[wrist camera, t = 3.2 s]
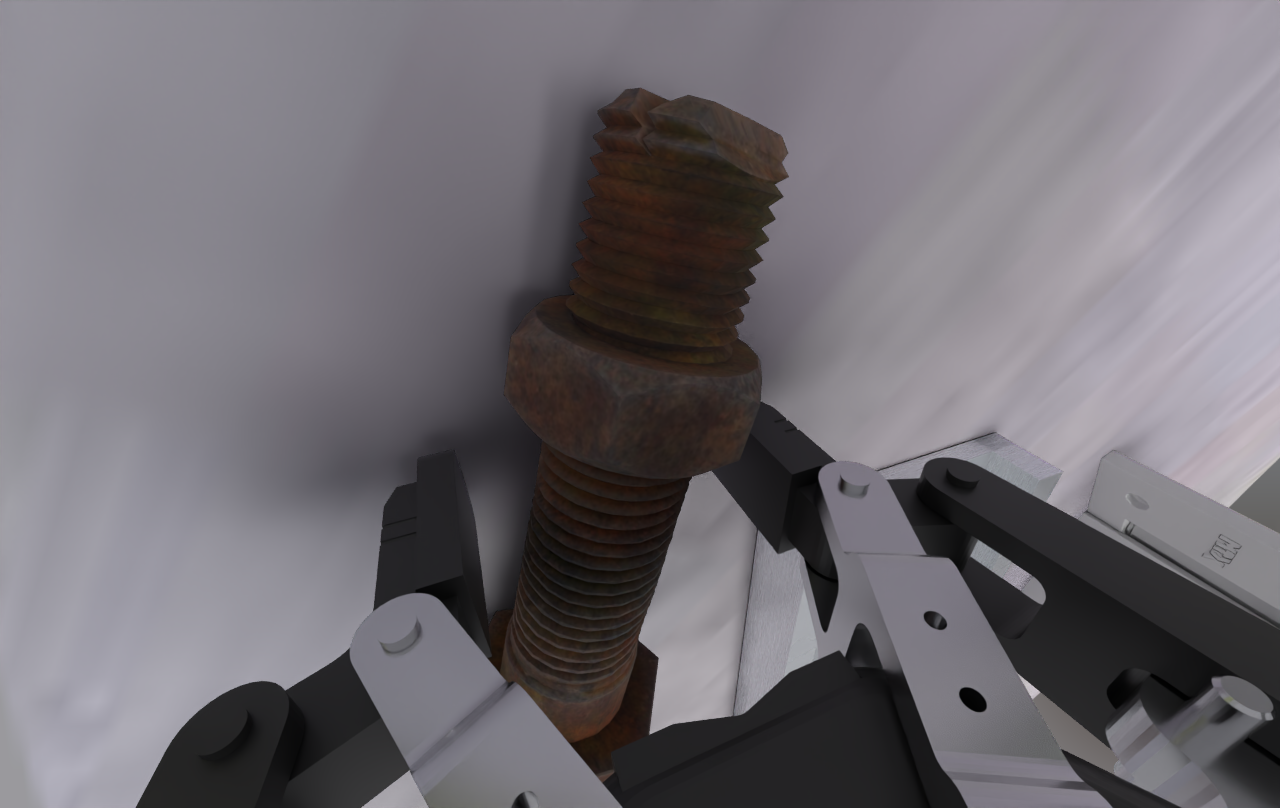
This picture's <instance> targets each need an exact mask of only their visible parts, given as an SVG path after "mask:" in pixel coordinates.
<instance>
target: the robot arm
mask: <svg viewBox="0 0 1280 808" xmlns="http://www.w3.org/2000/svg"><path fill="white" fill-rule="evenodd" d="M712 472H713V473H714V474H715V475H716V477H717V478H718V479H719V480H720V482H721V483H722V484H723V486H724V487H725V488H726V489H727V491H728V492H729V493H730V494H731V496H732V497H733V498H734V499H735V501H736V502H737V503H738V504H739V506H740V507H741V508H742V510H743V511H744V512H745V513H746V515H747V516H748V517H749V518H750V520H751V521H752V522H753V523H754V525H755V526H756V527H757V529H758V530H759V531H760V532H761V534H762V535H763V536H764V537H765V539H766V540H767V541H768V542H769V544H770V545H771V546H772V547H773V549H774V550H775V551H776V553H777V554H781V553H784V552H786V551H789V550H792V549H795V548H796V549H797V550H798V552H799V553H800V554H801V559H800V565H799V567H800V573H801V577H802V581H803V585H804V589H805V594H806V598H807V602H808V606H809V610H810V615H811V619H812V623H813V627H814V632H815V636H816V640H817V647H818V660H816V661H814V662H811V663H809V664H807V665H805V666H802V667H800V668H798V669H796V670H793V671H791V672H789V673H788V674H787V675H786V676H785V677H784V678H783V679H782V680H781V681H779V682H778V683H777V684H776V685H775V686H774V687H773V688H772V689H771V690H770V691H769V692H768V693H766V694H765V695H764V696H763V697H762V698H761V699H760V700H759V701H758V702H757V703H756V704H754V705H753V706H752V707H751V708H750V709H749V710H748V711H746V712H745V713H743V714H741V715H737V716H731V717H724V718H716V719H708V720H701V721H693V722H686V723H678V724H673V725H670V726H668V727H666V728H664V729H662V730H659V731H657V732H655V733H653V734H650V735H648V736H646V737H644V738H641V739H639V740H637V741H635V742H632V743H630V744H628V745H626V746H623V747H621V748H619V749H617V750H615V751H612V752H611V757H612V764H613V771H614V773H613V774H612V775H611V776H609V777H608V778H607V779H606V780H605V781H604V782H603V783H602V782H601V781H600V780H599V779H598V778H597V776H596V775H595V774H594V773H593V772H592V770H591V769H590V768H589V767H588V766H587V764H586V763H585V762H584V761H583V760H582V758H581V757H580V756H579V755H578V754H577V752H576V751H575V750H574V749H573V748H572V746H571V745H570V744H569V743H568V742H567V740H566V739H565V738H564V737H563V736H562V734H561V733H560V732H559V731H558V730H557V728H556V727H555V726H554V725H553V724H552V722H551V721H550V720H549V719H548V718H547V716H546V715H545V714H544V713H543V712H542V710H541V709H540V708H539V707H538V706H537V704H536V703H535V702H534V701H533V700H532V698H531V697H530V696H529V695H528V694H527V693H526V691H525V690H524V689H523V688H522V687H521V686H520V685H519V684H517V683H516V682H514V681H511V682H510V683H509V682H507V681H506V680H505V679H504V678H503V677H502V676H501V675H500V673H499V672H498V671H497V670H496V668H495V667H494V666H493V665H492V664H491V662H490V661H489V660H488V659H487V658H489V657H492V652H491V644H490V635H489V627H488V619H487V611H486V603H485V595H484V587H483V579H482V571H481V563H480V555H479V547H478V539H477V530H476V524H475V518H474V514H473V509H472V505H471V502H470V498H469V495H468V492H467V488H466V485H465V482H464V479H463V475H462V472H461V469H460V466H459V462H458V459H457V456H456V453H455V451H454V450H449V451H445V452H441V453H436V454H432V455H428V456H424V457H419V458H418V463H417V482H415V483H411V484H407V485H403V486H399V487H396V489H395V490H394V492H393V493H392V495H391V496H390V498H389V499H388V501H387V503H386V504H385V506H384V511H383V521H382V527H383V529H382V531H381V541H380V542H381V546H380V551H379V561H378V571H377V581H376V591H375V601H374V609H373V612H372V613H371V614H370V615H369V616H368V617H367V618H366V619H365V620H364V621H363V622H362V624H361V625H360V627H359V628H358V629H357V631H356V633H355V635H354V637H353V639H352V643H351V646H350V648H349V649H348V650H347V651H346V652H345V653H344V654H342V655H341V656H340V657H339V658H337V659H336V660H335V661H333V662H332V663H330V664H329V665H327V666H325V667H324V668H322V669H320V670H319V671H317V672H315V673H314V674H312V675H310V676H309V677H307V678H306V679H304V680H302V681H301V682H299V683H297V684H296V685H294V686H292V687H291V688H289V689H287V690H286V691H285V690H284V689H283V688H282V687H281V686H279V685H278V684H276V683H272V682H267V681H259V682H252V683H248V684H245V685H241V686H239V687H237V688H234V689H232V690H230V691H228V692H226V693H224V694H222V695H220V696H219V697H217V698H216V699H214V700H213V701H211V702H210V703H208V704H207V705H206V706H205V707H203V708H202V709H201V710H199V711H198V712H197V713H196V714H195V715H194V716H193V717H192V718H191V719H190V720H189V721H188V722H187V723H186V724H185V725H184V726H183V727H182V728H181V730H180V731H179V732H178V733H177V735H176V736H175V737H174V739H173V740H172V742H171V743H170V745H169V747H168V748H167V750H166V752H165V754H164V755H163V757H162V759H161V761H160V763H159V765H158V767H157V769H156V770H155V772H154V774H153V776H152V778H151V780H150V782H149V784H148V785H147V787H146V789H145V791H144V793H143V795H142V797H141V799H140V800H139V802H138V804H137V806H136V808H361V807H362V806H364V805H365V804H366V803H368V802H369V801H370V800H371V799H373V798H374V797H375V796H377V795H378V794H379V793H381V792H382V791H383V790H384V789H386V788H387V787H388V786H390V785H391V784H392V783H393V782H395V781H396V780H397V779H399V778H400V777H401V776H402V775H404V774H405V773H406V772H408V771H409V770H411V771H410V772H411V775H412V777H413V779H414V781H415V783H416V785H417V787H418V789H419V790H420V792H421V794H422V796H423V798H424V800H425V801H426V803H427V805H428V807H429V808H1280V630H1279V629H1278V628H1276V627H1274V626H1272V625H1270V624H1268V623H1267V622H1265V621H1263V620H1261V619H1259V618H1257V617H1256V616H1254V615H1252V614H1250V613H1248V612H1246V611H1245V610H1243V609H1241V608H1239V607H1237V606H1235V605H1234V604H1232V603H1230V602H1228V601H1226V600H1224V599H1223V598H1221V597H1219V596H1217V595H1215V594H1213V593H1212V592H1210V591H1208V590H1206V589H1204V588H1202V587H1201V586H1199V585H1197V584H1195V583H1193V582H1191V581H1189V580H1188V579H1186V578H1184V577H1182V576H1180V575H1178V574H1177V573H1175V572H1173V571H1171V570H1169V569H1167V568H1166V567H1164V566H1162V565H1160V564H1158V563H1156V562H1155V561H1153V560H1151V559H1149V558H1147V557H1145V556H1144V555H1142V554H1140V553H1138V552H1136V551H1134V550H1133V549H1131V548H1129V547H1127V546H1125V545H1123V544H1122V543H1120V542H1118V541H1116V540H1114V539H1112V538H1110V537H1109V536H1107V535H1105V534H1103V533H1101V532H1099V531H1098V530H1096V529H1094V528H1092V527H1090V526H1088V525H1087V524H1085V523H1083V522H1081V521H1079V520H1077V519H1076V518H1074V517H1072V516H1070V515H1068V514H1066V513H1065V512H1063V511H1061V510H1059V509H1057V508H1055V507H1054V506H1052V505H1050V504H1048V503H1046V502H1044V501H1043V500H1041V499H1039V498H1037V497H1035V496H1033V495H1032V494H1030V493H1028V492H1026V491H1024V490H1022V489H1020V488H1019V487H1017V486H1015V485H1013V484H1011V483H1009V482H1008V481H1006V480H1004V479H1002V478H1000V477H998V476H997V475H995V474H993V473H991V472H989V471H987V470H986V469H984V468H982V467H980V466H978V465H976V464H973V463H971V462H968V461H965V460H961V459H957V458H949V457H941V458H935V459H932V460H929V461H928V462H926V464H925V465H924V467H923V470H922V473H921V476H920V478H912V479H885V478H884V476H883V475H881V474H880V473H879V472H877V471H876V470H874V469H872V468H870V467H868V466H866V465H863V464H860V463H856V462H849V461H838V462H836V461H835V460H834V459H833V458H832V457H830V456H829V455H828V454H827V453H826V452H825V451H823V450H822V449H821V448H820V447H819V446H818V445H816V444H815V443H814V442H813V441H812V440H811V439H809V438H808V437H807V436H806V435H805V434H804V433H802V432H801V431H800V430H797V427H795V426H794V425H793V424H792V423H791V422H790V421H786V418H785V417H784V416H783V415H781V414H780V413H779V412H778V411H777V410H776V409H775V408H773V407H772V406H769V405H767V404H765V403H763V402H760V407H759V409H758V412H757V415H756V417H755V420H754V423H753V426H752V428H751V431H750V434H749V436H748V439H747V442H746V444H745V447H744V450H743V452H742V455H741V458H740V460H739V461H736V462H733V463H731V464H728V465H725V466H722V467H720V468H717V469H714V470H712ZM978 540H979V541H981V542H982V543H984V544H985V545H987V546H988V547H990V548H991V549H993V550H994V551H996V552H997V553H999V554H1001V555H1002V556H1004V557H1005V558H1007V559H1008V560H1010V561H1011V562H1013V563H1014V564H1016V565H1017V566H1019V567H1020V568H1022V569H1023V570H1025V571H1026V572H1028V573H1029V574H1031V575H1032V576H1033V577H1035V578H1036V579H1037V580H1038V581H1039V583H1040V584H1041V585H1042V587H1043V589H1044V591H1045V595H1046V599H1045V602H1044V603H1043V605H1042V604H1040V603H1038V602H1036V601H1034V600H1033V599H1031V598H1030V597H1028V596H1027V595H1025V594H1024V593H1023V592H1021V591H1020V590H1018V589H1017V588H1015V587H1014V586H1012V585H1011V584H1010V583H1008V582H1007V581H1005V580H1004V579H1002V578H1001V577H999V576H998V575H997V574H995V573H994V572H992V571H991V570H989V569H988V568H986V567H985V566H984V565H982V564H981V563H979V562H978V561H976V560H975V559H974V558H972V557H971V554H972V552H973V550H974V548H975V546H976V544H977V542H978ZM1017 673H1018V674H1019V675H1020V676H1022V677H1023V678H1024V679H1025V680H1026V681H1028V682H1029V683H1030V684H1031V685H1033V686H1034V687H1035V688H1036V689H1038V690H1039V691H1040V692H1041V693H1043V694H1044V695H1045V696H1046V697H1047V698H1049V699H1050V700H1051V701H1053V703H1055V704H1056V705H1057V706H1058V707H1060V708H1061V709H1062V710H1063V711H1064V712H1066V713H1067V714H1068V715H1070V716H1071V717H1072V718H1073V719H1074V720H1076V721H1077V722H1078V723H1079V724H1080V725H1082V726H1083V727H1084V728H1085V729H1087V730H1088V731H1089V732H1090V733H1092V734H1093V735H1094V736H1095V737H1097V738H1098V739H1099V740H1100V741H1101V742H1103V743H1104V744H1105V745H1106V746H1107V747H1109V748H1110V749H1111V750H1112V751H1113V752H1114V754H1115V755H1116V757H1117V758H1118V760H1119V761H1118V762H1117V763H1116V764H1115V766H1114V773H1115V775H1114V774H1112V773H1109V772H1108V771H1105V770H1103V769H1101V768H1099V767H1097V766H1095V765H1093V764H1091V763H1089V762H1087V761H1085V760H1083V759H1081V758H1079V757H1077V756H1075V755H1072V754H1070V753H1068V752H1067V751H1064V750H1062V749H1060V747H1059V746H1058V744H1057V742H1056V740H1055V738H1054V737H1053V735H1052V733H1051V731H1050V730H1049V728H1048V726H1047V724H1046V723H1045V721H1044V719H1043V717H1042V716H1041V714H1040V712H1039V710H1038V709H1037V707H1036V705H1035V703H1034V702H1033V700H1032V698H1031V696H1030V695H1029V693H1028V691H1027V689H1026V688H1025V686H1024V684H1023V682H1022V681H1021V679H1020V677H1019V675H1018V674H1017Z"/></svg>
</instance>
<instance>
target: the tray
mask: <svg viewBox="0 0 1280 808" xmlns="http://www.w3.org/2000/svg"><path fill="white" fill-rule="evenodd" d="M941 457H949V458H957V459H961V460H965V461H968V462H971V463H973V464H976V465H978V466H980V467H982V468H984V469H986V470H987V471H989V472H991V473H993V474H995V475H997V476H998V477H1000V478H1002V479H1004V480H1006V481H1008V482H1009V483H1011V484H1013V485H1015V486H1017V487H1019V488H1020V489H1022V490H1024V491H1026V492H1028V493H1030V494H1032V495H1033V496H1035V497H1037V498H1039V499H1041V500H1043V501H1044V502H1046V501H1047V499H1048V498H1049V496H1050V494H1051V492H1052V491H1053V489H1054V487H1055V485H1056V484H1057V482H1058V480H1059V478H1060V477H1061V475H1062V473H1063V471H1062V470H1060V469H1058V468H1056V467H1055V466H1053V465H1051V464H1049V463H1048V462H1046V461H1044V460H1042V459H1041V458H1039V457H1037V456H1036V455H1034V454H1032V453H1030V452H1029V451H1027V450H1025V449H1023V448H1022V447H1020V446H1018V445H1016V444H1015V443H1013V442H1011V441H1009V440H1008V439H1006V438H1004V437H1003V436H1001V435H999V434H997V433H993V434H990V435H987V436H984V437H981V438H978V439H975V440H972V441H969V442H966V443H962V444H959V445H956V446H953V447H950V448H947V449H944V450H941V451H938V452H935V453H932V454H929V455H926V456H923V457H920V458H917V459H914V460H910V461H907V462H904V463H901V464H898V465H895V466H892V467H889V468H886V469H883V470H880V471H877V472H879V473H880V474H881V475H883V476H884V478H885V479H912V478H920V476H921V473H922V470H923V467H924V465H925V464H926V462H928V461H929V460H932V459H935V458H941ZM971 557H972V558H974V559H975V560H976V561H978V562H979V563H981V564H982V565H984V566H985V567H986V568H988V569H989V570H991V571H992V572H994V573H995V574H997V575H998V576H999V577H1001V578H1003V576H1004V575H1005V573H1006V571H1007V569H1008V568H1009V566H1010V564H1011V561H1010V560H1008V559H1007V558H1005V557H1004V556H1002V555H1001V554H999V553H997V552H996V551H994V550H993V549H991V548H990V547H988V546H987V545H985V544H984V543H982V542H981V541H979V540H978V542H977V544H976V546H975V548H974V550H973V552H972V554H971ZM800 559H801V554H800V553H799V552H798V550H797V549H796V548H795V549H792V550H789V551H786V552H784V553H781V554H777V553H776V551H775V550H774V549H773V547H772V546H771V545H770V544H769V542H768V541H767V540H766V539H765V537H764V536H763V535H762V534H761V532H760V531H759V530H758V533H757V541H756V549H755V556H754V564H753V571H752V579H751V586H750V594H749V602H748V609H747V617H746V624H745V632H744V639H743V647H742V655H741V662H740V670H739V677H738V685H737V692H736V700H735V708H734V715H733V716H737V715H741V714H743V713H745V712H746V711H748V710H749V709H750V708H751V707H752V706H753V705H754V704H756V703H757V702H758V701H759V700H760V699H761V698H762V697H763V696H764V695H765V694H766V693H768V692H769V691H770V690H771V689H772V688H773V687H774V686H775V685H776V684H777V683H778V682H779V681H781V680H782V679H783V678H784V677H785V676H786V675H787V674H788V673H789V672H791V671H793V670H796V669H798V668H800V667H802V666H805V665H807V664H809V663H811V662H814V661H816V660H818V647H817V640H816V636H815V632H814V627H813V623H812V619H811V615H810V610H809V606H808V602H807V598H806V594H805V589H804V585H803V581H802V577H801V573H800V567H799V565H800Z"/></svg>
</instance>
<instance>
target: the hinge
mask: <svg viewBox="0 0 1280 808" xmlns="http://www.w3.org/2000/svg"><path fill="white" fill-rule="evenodd" d="M1087 511H1088V512H1085V513H1083V514H1082V515H1081V516H1080V517H1079V519H1078V520H1079V521H1081V522H1083V523H1085V524H1087V525H1088V526H1090V527H1092V528H1094V529H1096V530H1098V531H1099V532H1101V533H1103V534H1105V535H1107V536H1109V537H1110V538H1112V539H1114V540H1116V541H1118V542H1120V543H1122V544H1123V545H1125V546H1127V547H1129V548H1131V549H1133V550H1134V551H1136V552H1138V553H1140V554H1142V555H1144V556H1145V557H1147V558H1149V559H1151V560H1153V561H1155V562H1156V563H1158V564H1160V565H1162V566H1164V567H1166V568H1167V569H1169V570H1171V571H1173V572H1175V573H1177V574H1178V575H1180V576H1182V577H1184V578H1186V579H1188V580H1189V581H1191V582H1193V583H1195V584H1197V585H1199V586H1201V587H1202V588H1204V589H1206V590H1208V591H1210V592H1212V593H1213V594H1215V595H1217V596H1219V597H1221V598H1223V599H1224V600H1226V601H1228V602H1230V603H1232V604H1234V605H1235V606H1237V607H1239V608H1241V609H1243V610H1245V611H1246V612H1248V613H1250V614H1252V615H1254V616H1256V617H1257V618H1259V619H1261V620H1263V621H1265V622H1267V623H1268V624H1270V625H1272V626H1274V627H1276V628H1278V629H1279V630H1280V534H1279V533H1277V532H1275V531H1273V530H1271V529H1269V528H1267V527H1266V526H1264V525H1262V524H1260V523H1257V522H1256V521H1254V520H1252V519H1249V518H1248V517H1246V516H1244V515H1242V514H1239V513H1238V512H1236V511H1234V510H1232V509H1230V508H1228V507H1226V506H1224V505H1222V504H1220V503H1218V502H1216V501H1214V500H1212V499H1210V498H1208V497H1206V496H1204V495H1202V494H1200V493H1198V492H1196V491H1194V490H1192V489H1190V488H1188V487H1186V486H1184V485H1182V484H1180V483H1178V482H1176V481H1174V480H1172V479H1170V478H1168V477H1166V476H1164V475H1162V474H1160V473H1158V472H1156V471H1154V470H1152V469H1150V468H1148V467H1146V466H1144V465H1142V464H1140V463H1138V462H1136V461H1134V460H1132V459H1130V458H1128V457H1126V456H1124V455H1122V454H1120V453H1118V452H1116V451H1114V450H1113V451H1112V452H1110V453H1109V454H1107V455H1106V456H1104V457H1103V458H1101V462H1100V466H1099V469H1098V473H1097V477H1096V480H1095V484H1094V488H1093V492H1092V495H1091V499H1090V503H1089V506H1088V510H1087ZM1021 592H1023V593H1024V594H1025V595H1027V596H1028V597H1030V598H1031V599H1033V600H1034V601H1036V602H1038V603H1040V604H1042V605H1043V603H1044V602H1045V599H1046V595H1045V591H1044V589H1043V587H1042V585H1041V584H1040V583H1039V581H1038V580H1037V579H1036V578H1035V577H1032V578H1031V579H1030V580H1029V582H1028V583H1027V584H1026V586H1025V587H1024V588H1023V589H1022V591H1021Z"/></svg>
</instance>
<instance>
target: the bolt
mask: <svg viewBox="0 0 1280 808" xmlns="http://www.w3.org/2000/svg"><path fill="white" fill-rule="evenodd" d="M597 114H598V115H599V117H600V118H601V120H602V121H603V123H604V124H605V126H606V127H607V128H606V129H604V130H602V131H600V132H599V133H597V134H595V135H594V136H593V138H594V139H595V141H596V142H597V143H598V145H599V146H600V148H601V149H602V150H603V152H601V153H599V154H596V155H594V156H592V157H590V159H591V161H592V162H593V164H594V166H595V167H596V169H597V171H598V173H599V174H600V175H598V176H596V177H594V178H592V179H590V180H588V181H587V182H588V184H589V186H590V187H591V189H592V191H593V193H594V195H595V197H593V198H591V199H588V200H586V201H584V202H582V203H583V205H584V206H585V207H586V209H587V210H588V212H589V213H590V215H591V216H592V218H590V219H587V220H585V221H583V222H581V223H579V225H580V227H581V228H582V230H583V231H584V233H585V234H586V235H587V237H588V238H586V239H584V240H582V241H579V242H577V243H576V247H577V248H578V250H579V251H580V252H581V254H582V255H583V257H584V258H582V259H580V260H578V261H576V262H574V263H573V264H572V266H573V267H574V268H575V270H576V271H577V273H578V274H579V276H580V277H577V278H575V279H573V280H571V281H570V285H569V287H570V288H571V289H572V291H573V292H574V293H575V295H564V296H556V297H552V298H548V299H544V300H543V301H542V302H540V303H539V304H538V305H537V306H535V307H534V308H533V309H532V310H531V311H530V312H529V313H528V314H526V316H525V317H524V319H523V320H522V321H521V323H520V324H519V326H518V327H517V329H516V330H515V332H514V333H513V335H512V336H511V340H510V348H509V356H508V364H507V372H506V380H505V388H504V396H505V397H506V398H507V400H508V401H509V402H510V404H511V405H512V406H513V408H514V409H515V410H516V412H517V413H518V414H519V416H520V417H521V418H522V420H523V421H524V422H525V423H526V424H527V425H528V427H529V428H530V429H531V430H532V431H533V432H534V433H535V434H536V435H537V436H538V437H539V438H541V439H542V440H543V441H542V444H541V453H540V457H539V463H538V464H539V467H538V472H537V477H536V485H535V490H534V494H535V495H534V497H533V499H532V503H533V506H532V509H531V511H530V519H529V522H528V531H527V536H526V541H525V549H524V553H523V557H522V566H521V572H520V576H519V580H518V587H517V595H516V599H515V606H514V609H508V610H501V611H497V612H496V613H495V615H494V616H493V618H492V620H491V622H490V624H489V626H488V627H489V635H490V644H491V652H492V657H489V658H487V659H488V660H489V661H490V662H491V664H492V665H493V666H494V667H495V668H496V670H497V671H498V672H499V673H500V675H501V676H502V677H503V678H504V679H505V680H506V681H507V682H509V683H510V682H511V681H514V682H516V683H517V684H519V685H520V686H521V687H522V688H523V689H524V690H525V691H526V693H527V694H528V695H529V696H530V697H531V698H532V700H533V701H534V702H535V703H536V704H537V706H538V707H539V708H540V709H541V710H542V712H543V713H544V714H545V715H546V716H547V718H548V719H549V720H550V721H551V722H552V724H553V725H554V726H555V727H556V728H557V730H558V731H559V732H560V733H561V734H562V736H563V737H564V738H565V739H566V740H567V742H568V743H569V744H570V745H571V746H572V748H573V749H574V750H575V751H576V752H577V754H578V755H579V756H580V757H581V758H582V760H583V761H584V762H585V763H586V764H587V766H588V767H589V768H590V769H591V770H592V772H593V773H594V774H595V775H596V776H597V778H598V779H599V780H600V781H601V782H602V783H603V782H604V781H605V780H606V779H607V778H608V777H609V776H611V775H612V774H613V773H614V771H613V764H612V757H611V752H612V751H615V750H617V749H619V748H621V747H623V746H626V745H628V744H630V743H632V742H635V741H637V740H639V739H641V738H644V737H646V736H648V735H649V731H650V723H651V715H652V707H653V699H654V691H655V683H656V675H657V667H658V659H659V658H658V657H657V656H656V655H655V654H653V653H652V652H651V651H650V650H649V649H648V648H647V647H645V646H644V645H643V644H642V643H641V642H640V641H639V640H638V637H639V634H640V631H641V627H642V624H643V622H644V618H645V616H646V614H647V610H648V607H649V606H650V603H651V600H652V597H653V594H654V592H655V588H656V586H657V583H658V578H659V576H660V574H661V570H662V566H663V564H664V561H665V557H666V554H667V550H668V547H669V544H670V542H671V539H672V537H673V531H674V528H675V525H676V522H677V518H678V515H679V513H680V511H681V506H682V504H683V501H684V498H685V493H686V492H687V489H688V486H689V481H690V480H691V479H692V476H696V475H700V474H703V473H706V472H709V471H711V470H714V469H717V468H720V467H722V466H725V465H728V464H731V463H733V462H736V461H739V460H740V458H741V455H742V452H743V450H744V447H745V444H746V442H747V439H748V436H749V434H750V431H751V428H752V426H753V423H754V420H755V417H756V415H757V412H758V409H759V407H760V400H761V385H762V374H761V365H760V361H759V358H758V356H757V355H756V354H755V353H754V351H753V350H752V349H751V348H750V347H749V346H748V345H747V344H746V343H744V342H743V341H741V340H740V339H738V338H737V337H738V332H737V330H736V328H735V326H734V325H736V324H739V323H741V322H742V321H743V318H744V315H743V313H742V311H741V310H740V308H739V307H741V306H743V305H745V304H747V303H749V300H750V297H749V295H748V294H747V292H746V291H745V290H744V289H745V288H746V287H748V286H750V285H752V284H754V283H755V281H756V278H755V277H754V275H753V274H752V273H751V272H750V270H749V269H750V268H751V267H753V266H755V265H757V264H758V263H760V262H762V261H763V259H762V258H761V257H760V255H759V254H758V253H757V251H756V250H755V249H756V248H758V247H759V246H761V245H763V244H765V243H766V242H768V241H769V238H768V237H767V236H766V234H765V233H764V231H763V230H762V229H761V228H763V227H764V226H766V225H767V224H769V223H771V222H772V221H774V220H775V217H774V215H773V214H772V212H771V211H770V209H769V208H768V207H769V206H770V205H772V204H773V203H775V202H776V201H778V200H780V199H781V198H783V195H782V194H781V193H780V191H779V190H778V188H777V187H776V186H775V184H776V183H778V182H780V181H782V180H784V179H786V178H787V177H789V176H788V174H787V172H786V170H785V168H784V166H783V164H782V161H783V160H784V158H785V157H786V156H787V154H788V151H787V149H786V146H785V143H784V141H783V138H782V136H781V135H780V134H778V133H776V132H774V131H772V130H770V129H768V128H766V127H764V126H763V125H761V124H759V123H757V122H755V121H753V120H751V119H749V118H747V117H745V116H743V115H741V114H739V113H737V112H735V111H733V110H731V109H729V108H726V107H724V106H722V105H720V104H718V103H716V102H713V101H709V100H706V99H702V98H698V97H694V96H690V95H687V96H684V97H681V98H678V99H675V100H672V101H669V100H666V99H664V98H662V97H660V96H657V95H655V94H653V93H651V92H648V91H646V90H644V89H642V88H635V89H626V90H624V91H623V93H622V94H621V95H620V96H619V97H618V98H617V99H616V100H615V101H614V102H612V103H611V104H609V105H607V106H605V107H603V108H601V109H600V110H598V113H597Z"/></svg>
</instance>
